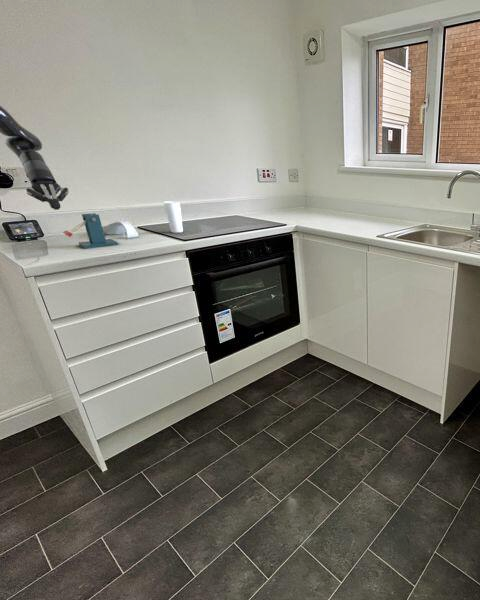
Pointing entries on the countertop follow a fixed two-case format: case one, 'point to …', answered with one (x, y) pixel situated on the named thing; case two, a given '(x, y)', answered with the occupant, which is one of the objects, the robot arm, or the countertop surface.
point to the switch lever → (69, 233)
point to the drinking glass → (174, 216)
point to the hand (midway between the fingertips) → (56, 208)
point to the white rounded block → (120, 229)
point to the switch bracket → (95, 233)
